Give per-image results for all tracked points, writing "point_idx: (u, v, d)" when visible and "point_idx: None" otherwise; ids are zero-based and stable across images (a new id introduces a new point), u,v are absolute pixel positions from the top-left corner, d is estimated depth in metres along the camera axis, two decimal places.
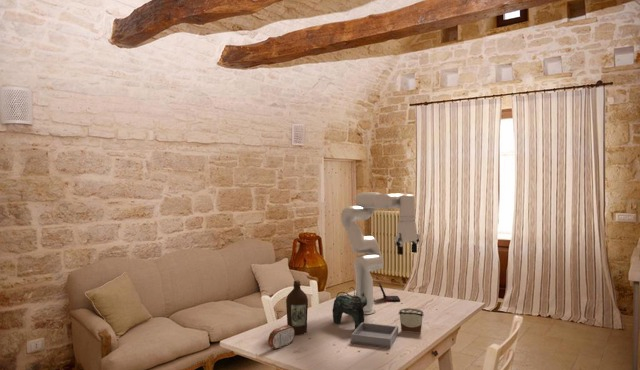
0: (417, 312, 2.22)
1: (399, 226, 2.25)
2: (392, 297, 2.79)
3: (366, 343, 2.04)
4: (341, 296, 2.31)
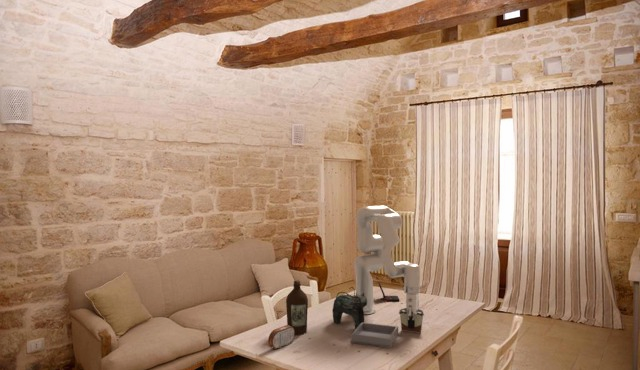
0: None
1: None
2: (392, 297, 2.79)
3: (366, 343, 2.04)
4: (341, 296, 2.31)
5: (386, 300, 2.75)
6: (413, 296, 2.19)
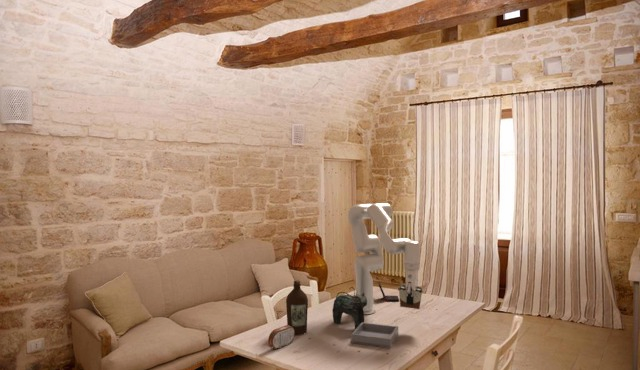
0: None
1: None
2: (391, 297, 2.80)
3: (366, 343, 2.04)
4: (341, 296, 2.31)
5: (386, 300, 2.75)
6: (413, 273, 2.19)
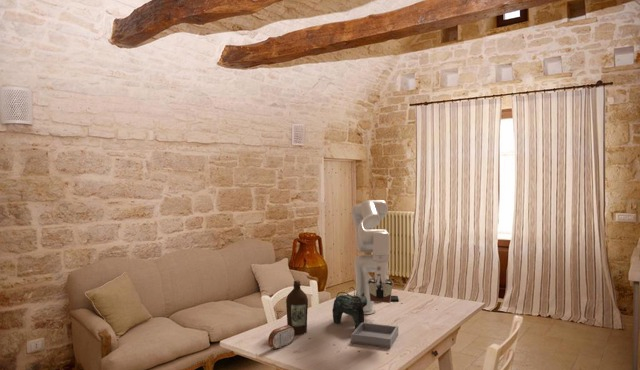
0: (387, 281, 2.13)
1: None
2: (391, 297, 2.80)
3: (366, 343, 2.04)
4: (341, 296, 2.31)
5: None
6: (382, 264, 2.08)
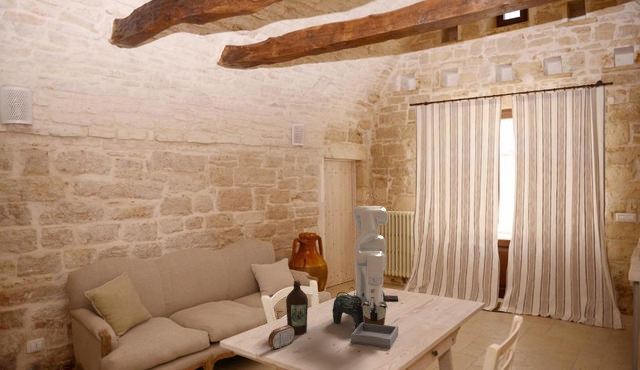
0: (381, 304, 2.11)
1: None
2: (391, 297, 2.80)
3: (366, 343, 2.04)
4: (341, 296, 2.31)
5: (385, 300, 2.75)
6: (375, 287, 2.07)
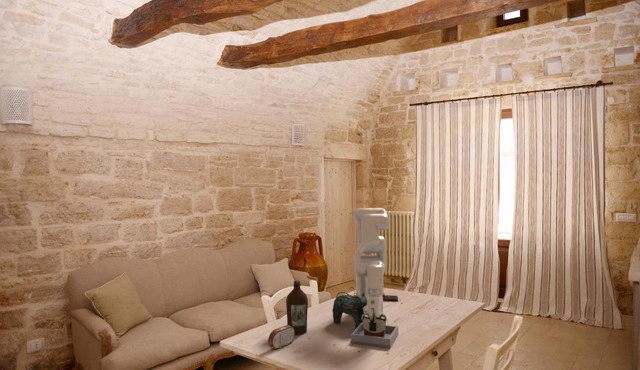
0: (381, 317, 2.12)
1: None
2: (391, 297, 2.80)
3: (366, 343, 2.04)
4: (341, 296, 2.31)
5: (384, 300, 2.76)
6: (375, 298, 2.07)
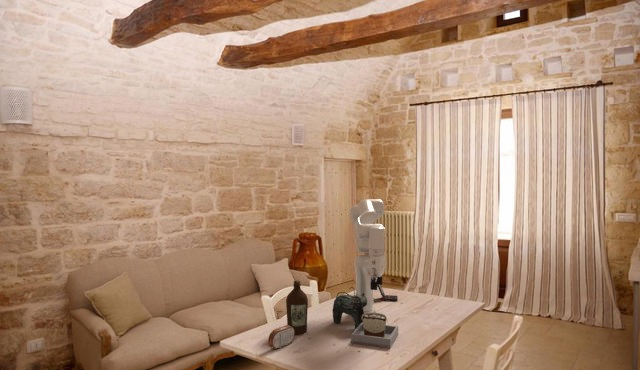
0: (381, 317, 2.12)
1: None
2: (391, 297, 2.80)
3: (366, 343, 2.04)
4: (341, 296, 2.31)
5: (384, 299, 2.76)
6: (377, 258, 2.15)
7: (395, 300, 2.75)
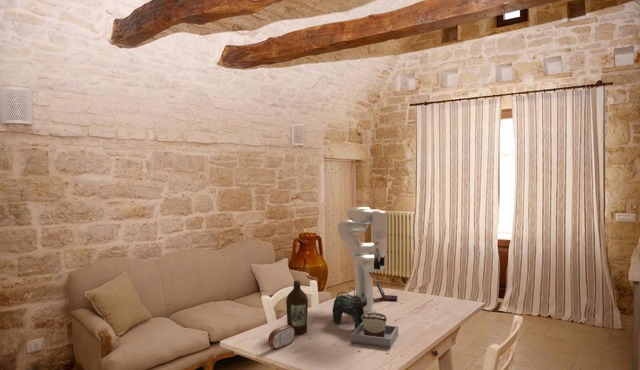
0: (381, 317, 2.12)
1: None
2: (390, 297, 2.80)
3: (366, 343, 2.04)
4: (341, 296, 2.31)
5: (384, 299, 2.76)
6: (379, 240, 2.31)
7: (395, 300, 2.75)
